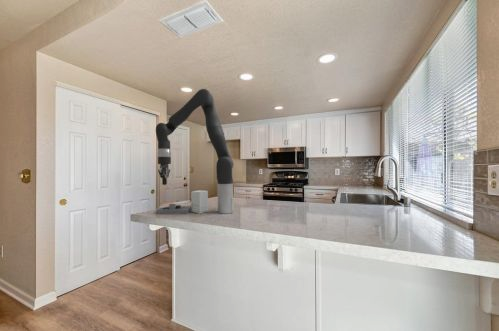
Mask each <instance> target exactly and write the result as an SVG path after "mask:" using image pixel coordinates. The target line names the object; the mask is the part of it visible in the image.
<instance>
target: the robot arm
mask: <svg viewBox="0 0 499 331" xmlns="http://www.w3.org/2000/svg"><path fill="white" fill-rule="evenodd" d="M214 101H215V100H214V97H213V95H212V94H211V92H210V91H209V90H208V89H206V88H201V89H199V90H198V91H197V92H196V93H195V94H194V95H192V97H191V98H190V99H189V100H188V101H186V103H185V104H184V105H183V106H181V108H180V109H179V110H177V111H176V112H175V113H174V114H171V116H169V118H168V122H166V123H164V122H159V123H157V125H155V126H156V127H155V136H156V139H157V164H158V165H159V166H160V167H159V169H158V170H157V171H158V174H159V177H160V178H161V182H162V183H161V184H162V186H167V184H168V178H169V176H170V173H171V169H170V167H169V165H171V164H172V153H171V141H170V139H169V137H168V136H170V135H171V134H173V132H175V130H176V129H177V128H178V127H179V126H181V125H182V124H183V123H184V122H185V121H187V120H188V119H189V118H190V115H192V113H193V112H194V111H195V110H196V109H198V108H199V107H201V108H202V111H203V114H204V117H205V129H206V132H207V134H208V139H209V141H210V143H211V145H212V146H213V148H214V150H215V154H216V156H217V161H216V169H215V170H216V180H217V213H218V214H220V215H221V214H222V215H223V214H224V215H225V214H234V208H235V206H234V179H233V168H234V161H233V159H232V156H231V155H230V152H229V149H228V146H227V141H226V137H225V133H224V129H223V127H222V124H221V121H220V119H219V116H218V114H217V110H216V106H215V102H214Z"/></svg>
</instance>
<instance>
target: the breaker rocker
mask: <svg viewBox="0 0 499 331" xmlns="http://www.w3.org/2000/svg"><path fill="white" fill-rule="evenodd" d="M179 201H180V202H175V201H174V202H173V201H172V202H166V203H162V204H161V205H160V206H159V208H164V207H169V204H175V206H177V205H181V206H185V205H187V204H189V203H191V200H190V199H188V200H179Z"/></svg>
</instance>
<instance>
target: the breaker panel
mask: <svg viewBox="0 0 499 331" xmlns="http://www.w3.org/2000/svg"><path fill="white" fill-rule="evenodd" d="M180 201H181V200H175V201H174V202H180ZM190 212H191V205H177V206H175V204H169V207H164V208H160V207H159V208H157V209H156V212H155V213H156V215H188V214H189V213H190Z"/></svg>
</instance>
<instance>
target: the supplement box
mask: <svg viewBox="0 0 499 331" xmlns="http://www.w3.org/2000/svg"><path fill="white" fill-rule="evenodd" d="M208 192H209V191H208V190H199V189H198V190H194V191H190V199H191V200H190V206H191V211H190V212H191V213H194V214H195V213H196V214H204V213H207V212H209V193H208Z"/></svg>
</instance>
